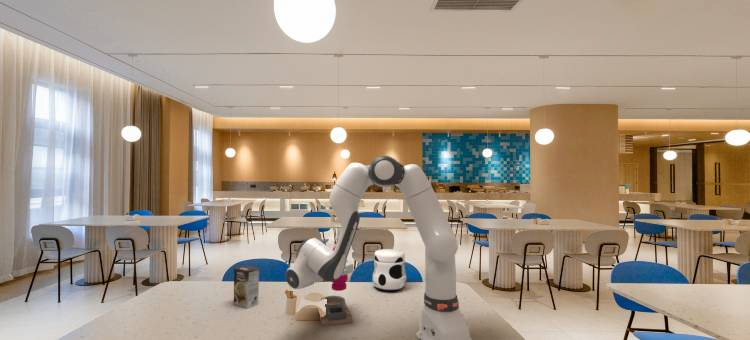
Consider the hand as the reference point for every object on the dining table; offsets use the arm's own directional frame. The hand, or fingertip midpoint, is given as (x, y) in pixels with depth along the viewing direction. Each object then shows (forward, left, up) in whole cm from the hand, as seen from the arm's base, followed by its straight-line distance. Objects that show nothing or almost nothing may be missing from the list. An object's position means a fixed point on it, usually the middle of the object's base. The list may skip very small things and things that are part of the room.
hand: (340, 261), depth 143 cm
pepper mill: (-1, +1, -11) cm, 12 cm away
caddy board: (-4, +3, -21) cm, 21 cm away
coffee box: (+16, +39, -21) cm, 47 cm away
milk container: (+21, -29, -21) cm, 41 cm away
